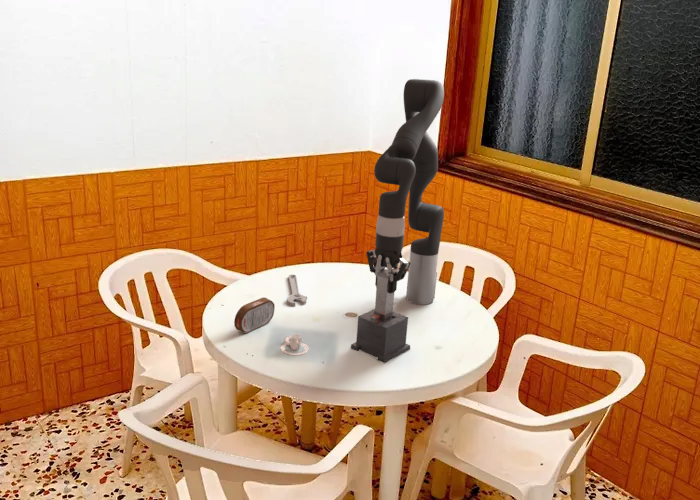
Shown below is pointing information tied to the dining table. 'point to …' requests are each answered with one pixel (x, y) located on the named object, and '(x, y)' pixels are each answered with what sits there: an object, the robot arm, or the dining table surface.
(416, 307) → the dining table surface
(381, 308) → the column
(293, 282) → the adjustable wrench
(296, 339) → the teacup and saucer
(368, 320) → the housing
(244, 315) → the tin
